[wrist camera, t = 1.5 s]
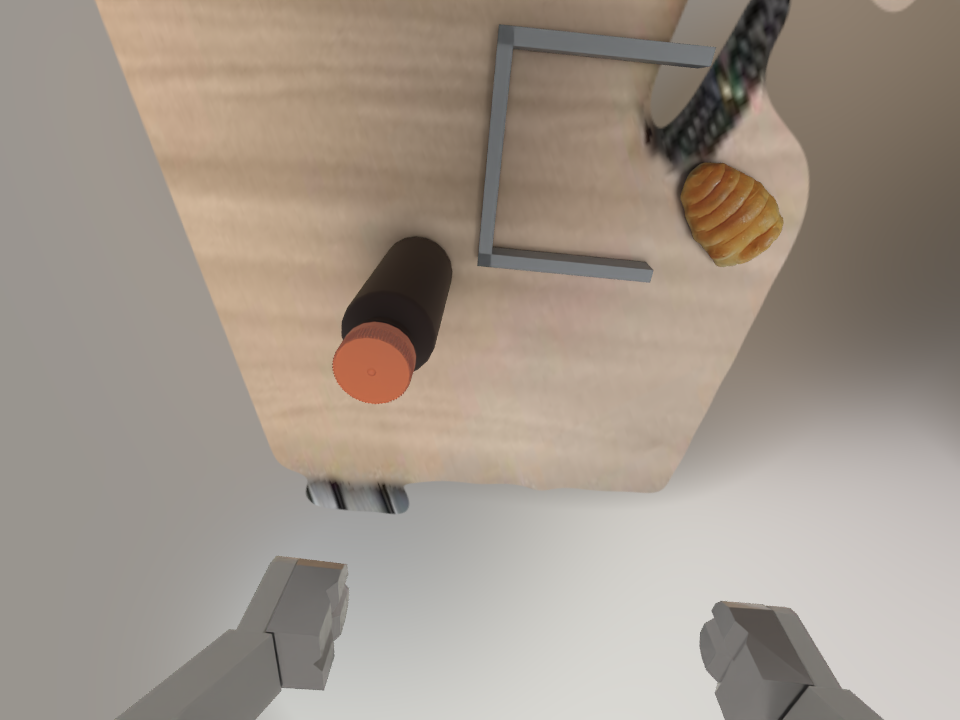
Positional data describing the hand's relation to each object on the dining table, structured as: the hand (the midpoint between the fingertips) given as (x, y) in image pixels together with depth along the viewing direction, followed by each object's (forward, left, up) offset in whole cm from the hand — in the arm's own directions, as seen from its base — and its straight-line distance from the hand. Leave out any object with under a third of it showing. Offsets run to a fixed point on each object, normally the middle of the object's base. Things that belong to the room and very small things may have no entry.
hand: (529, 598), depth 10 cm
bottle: (+6, -8, -38) cm, 40 cm away
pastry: (-6, +20, -39) cm, 44 cm away
